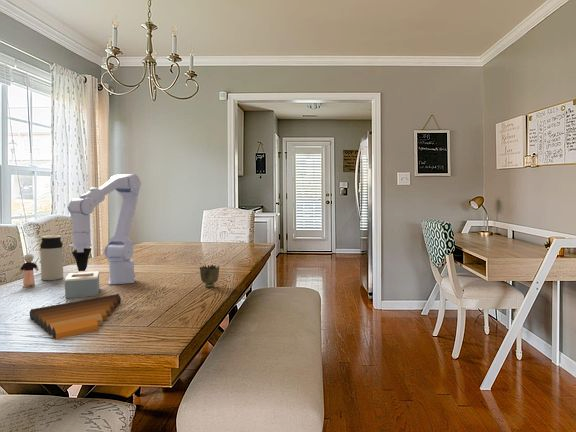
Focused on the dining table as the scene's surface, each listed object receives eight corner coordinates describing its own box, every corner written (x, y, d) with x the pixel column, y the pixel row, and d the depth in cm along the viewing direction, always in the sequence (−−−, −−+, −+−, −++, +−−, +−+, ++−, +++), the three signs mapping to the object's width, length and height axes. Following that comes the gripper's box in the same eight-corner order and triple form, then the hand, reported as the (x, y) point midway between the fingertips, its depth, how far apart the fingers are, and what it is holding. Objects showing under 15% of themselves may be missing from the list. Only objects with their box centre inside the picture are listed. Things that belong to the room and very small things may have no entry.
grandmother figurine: (25, 288, 153) (24, 255, 152) (17, 288, 154) (16, 254, 153) (42, 284, 160) (41, 252, 160) (33, 283, 161) (32, 251, 160)
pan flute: (116, 303, 135) (29, 319, 117) (116, 293, 135) (29, 308, 117) (152, 319, 117) (56, 342, 100) (152, 308, 117) (55, 328, 99)
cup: (223, 287, 156) (223, 266, 155) (207, 290, 150) (207, 269, 150) (211, 284, 161) (211, 264, 160) (196, 287, 155) (195, 266, 155)
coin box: (99, 288, 154) (98, 271, 153) (97, 295, 142) (97, 277, 142) (69, 290, 150) (68, 273, 149) (65, 298, 139) (64, 279, 138)
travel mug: (67, 277, 174) (66, 235, 173) (55, 281, 166) (53, 237, 165) (50, 276, 175) (48, 234, 174) (36, 280, 167) (35, 236, 166)
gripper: (71, 230, 150) (72, 267, 151) (66, 234, 137) (67, 274, 137) (92, 230, 153) (93, 265, 153) (89, 233, 139) (90, 272, 140)
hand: (82, 269), depth 146 cm, fingers open, 4 cm apart
